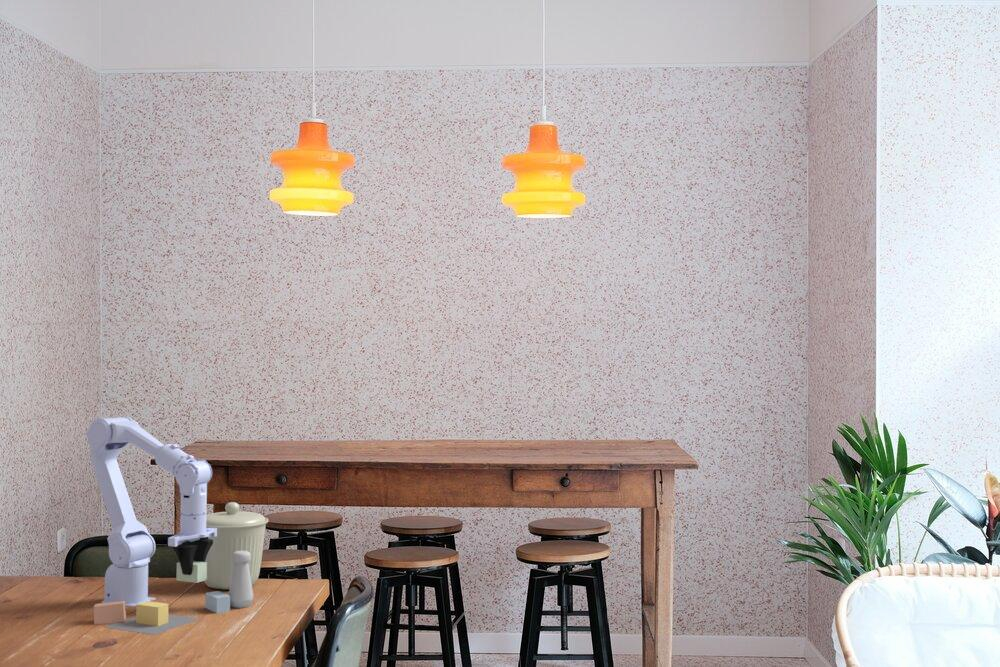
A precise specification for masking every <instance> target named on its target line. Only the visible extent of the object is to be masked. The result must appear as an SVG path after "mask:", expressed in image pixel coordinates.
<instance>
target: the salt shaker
mask: <svg viewBox="0 0 1000 667" xmlns="http://www.w3.org/2000/svg"><path fill="white" fill-rule="evenodd" d="M250 560H251V554H250V552H248V551H236V552H234V553H233V554H232V562H235V563H234V568H233V573H232V578H231V584H230V589H229V591H228V594H227V595H229V596H230V608H234V609H235V608H236V609H244V608H250V607H251V605H252V602H253V601H254V590H253V585H252V584H251V577H250V571H249V565H248V562H249V561H250ZM249 606H250V607H249Z"/></svg>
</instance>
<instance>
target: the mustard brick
mask: <svg viewBox="0 0 1000 667" xmlns="http://www.w3.org/2000/svg"><path fill="white" fill-rule="evenodd" d="M135 606H136V609H135V612H136V613H135V615H136V623H140V624H147V625H154V626H160V625H162V624H165V623H168V614H169V610H170V609H169V603H166V602H158V601H152V600H151V601H145V602H142V603H139V604H136V605H135Z"/></svg>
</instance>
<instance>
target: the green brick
mask: <svg viewBox="0 0 1000 667" xmlns="http://www.w3.org/2000/svg"><path fill="white" fill-rule="evenodd" d="M205 580H207V562H198V561H193V570H192V574H191V575H184V574H183V573H182V569H181V565H180V562H179V561H177V562H176V581H179V582H187V583H197V584H198V583H200V582H204V581H205Z"/></svg>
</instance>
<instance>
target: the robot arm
mask: <svg viewBox="0 0 1000 667" xmlns="http://www.w3.org/2000/svg"><path fill="white" fill-rule="evenodd" d="M85 433H86V434H85V435H86V438H87V442H88V445H89V447H90V448H89V450H90V451H89V452H90V453H89V454H90V455H89V456H90V457H89V459H90V462H91V465H92V468H93V472H94V474H95V477H96V481H97V484H98V487H99V491H100V493H101V495H102V499H103V502H104V505H105V509H106V510H107V514H108V517H109V521H110V523H111V526H112V530H111V532H110V533H109V535H108V537H107V543H108V556H109V560H110V561H111V563H112V564H110V565H109V566H108V567H107V569H106V571H105V573H104V596H103V597H104V600H102V601H101V603H108V602H116V601H125V607H127V606H128V607H134V606H136V604H139V603H142V602H145V601H151V602H152V601H154V600H156V599H157V598H156V597H152V596H151V597H150V596H149V595H148V594H149V563H150V562H151V558H152V557H153V556H154V554H155V553H156V548H157V547H156V541H155V539H154V537H153V536H152V534H150V533H149V531H148V528H147V526H146V525H144V524H143V523H141V522H140V521H138V520H137V517H136V514H135V511H134V508H133V504H132V501H131V499H130V496H129V493H128V489H127V487H126V484H125V480H124V478H123V477H124V476H123V474H122V471H121V468H120V466H119V462H118V460H117V459H118V457H119V455H120V453H122V451H123V450H124V449H125V448H126V447H127V446H128V445H129V444H131V445H133V446H135V447H137V448H139V449H140V450H141V451H143V452H145V453H147V454H148V455H151V456H152V457H153V458H154V462H155V464H156V465H157V466H158V467H160V468H161V469H163V470H164V471H166V472H168V473H169V474H170V475H171V476H174V477H175V480H176V481H175V482H176V483H177V484H178V486H179V493H180V525H179V527H180V528H179V530H180V531H179V533H177V534H174V535H172V536H170V537H167V544H168V545H167V546H168V547H172V549H173V550H174V552H175V554H176V556H177V558H178V560H179V561H178V562H180V565H181V569H182V573H183V574H184V575H191V574H192V570H193V561H198V562H205V560H206V557H207V554H208V552H209V550H210V548H211V546H212V545H213V540H212V539H208V537H216V536H217V528H206V515H207V514H208V512H207V505H208V503H207V501H208V500H207V498H208V483H210V481H211V479H212V477H213V468H212V466H211V464H210V462H209V463H208V461H207V460H206V459H196V458H195V456H193V455H192V454H188V453H186V452H184V450H182V449H180V445H179V444H176V443H174V444H172V443H167V444H165V445H164V443H162V442H161V441H160V440H158V439H157V438H156V437H154V436H153V435H152V434H150V433H149V432H148V431H146V430H145V429H144V428H143V427H141V426H140V425H139V422H138V421H136V420H133V419H132V418H131V417H129V416H127V415H126V416H120V417H108V418H107V417H105V418H101V417H100V418H95V419H94V420H93V421H91V423H90V424H89V427H88V429H87V431H86V432H85Z"/></svg>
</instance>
